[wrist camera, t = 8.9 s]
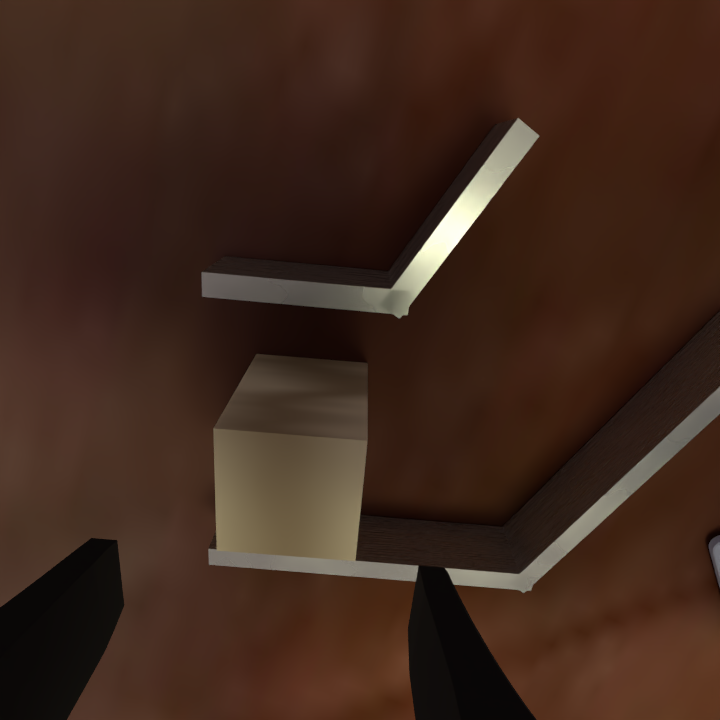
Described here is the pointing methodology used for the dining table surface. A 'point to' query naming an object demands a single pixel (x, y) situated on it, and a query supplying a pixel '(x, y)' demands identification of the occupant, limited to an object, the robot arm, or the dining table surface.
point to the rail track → (567, 487)
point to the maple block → (292, 458)
